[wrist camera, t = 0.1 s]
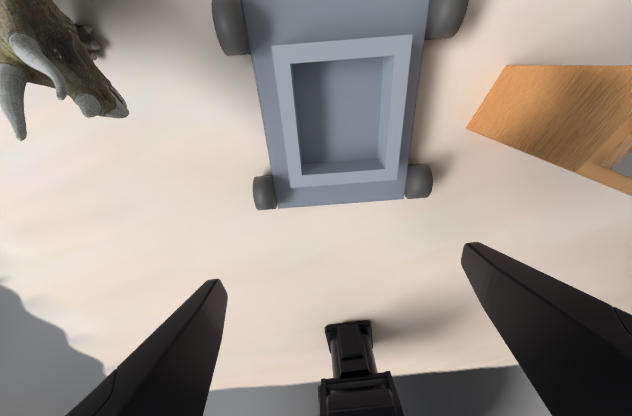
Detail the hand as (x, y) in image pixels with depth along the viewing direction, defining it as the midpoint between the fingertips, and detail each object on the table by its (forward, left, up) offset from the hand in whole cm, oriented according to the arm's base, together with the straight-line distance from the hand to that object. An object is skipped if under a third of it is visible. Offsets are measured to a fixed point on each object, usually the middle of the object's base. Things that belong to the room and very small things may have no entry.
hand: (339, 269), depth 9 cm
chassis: (+3, -2, -15) cm, 15 cm away
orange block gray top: (+1, -16, -15) cm, 22 cm away
